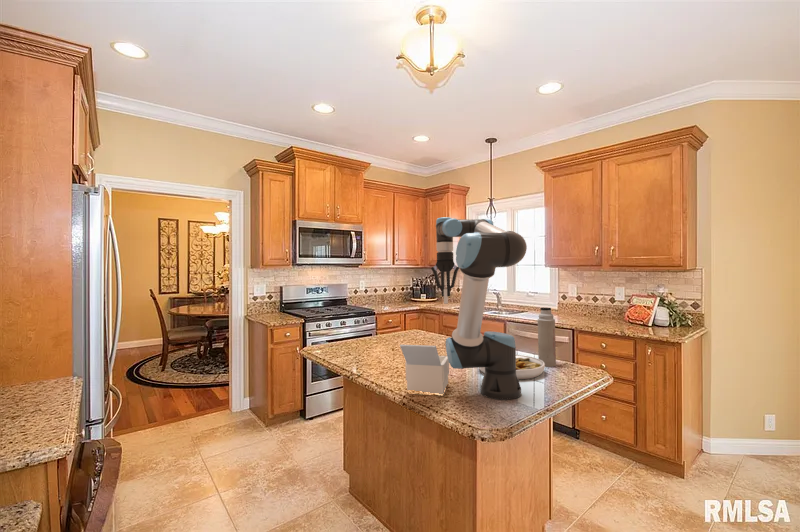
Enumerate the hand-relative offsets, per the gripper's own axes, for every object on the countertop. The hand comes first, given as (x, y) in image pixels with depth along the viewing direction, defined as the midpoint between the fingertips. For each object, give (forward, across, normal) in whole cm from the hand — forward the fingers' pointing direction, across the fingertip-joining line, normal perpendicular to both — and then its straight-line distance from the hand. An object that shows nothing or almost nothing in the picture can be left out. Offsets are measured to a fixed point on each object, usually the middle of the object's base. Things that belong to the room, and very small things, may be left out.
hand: (446, 303), depth 174 cm
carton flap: (+16, +4, +34) cm, 38 cm away
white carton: (+32, +4, +22) cm, 40 cm away
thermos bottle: (+33, -45, -26) cm, 61 cm away
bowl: (+33, -28, -11) cm, 44 cm away
